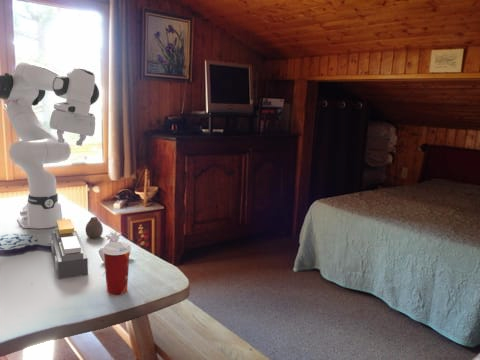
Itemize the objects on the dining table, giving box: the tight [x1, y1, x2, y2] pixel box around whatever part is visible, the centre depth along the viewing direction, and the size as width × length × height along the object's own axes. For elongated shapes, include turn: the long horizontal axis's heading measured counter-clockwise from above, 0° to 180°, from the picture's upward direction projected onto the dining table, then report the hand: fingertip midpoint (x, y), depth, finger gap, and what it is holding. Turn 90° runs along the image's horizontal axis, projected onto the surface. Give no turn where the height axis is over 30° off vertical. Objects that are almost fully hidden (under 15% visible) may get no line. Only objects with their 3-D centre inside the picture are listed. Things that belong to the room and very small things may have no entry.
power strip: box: [50, 227, 89, 280], centre depth 146 cm, size 30×9×8 cm, turn 29°
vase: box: [85, 216, 104, 240], centre depth 170 cm, size 7×7×9 cm
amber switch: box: [56, 218, 75, 234], centre depth 152 cm, size 12×5×2 cm, turn 29°
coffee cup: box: [103, 241, 132, 296], centre depth 125 cm, size 8×8×15 cm
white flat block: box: [61, 236, 81, 254], centre depth 138 cm, size 12×5×2 cm, turn 29°
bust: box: [98, 230, 132, 263], centre depth 150 cm, size 12×8×11 cm
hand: (69, 144), depth 158 cm, fingers open, 8 cm apart
